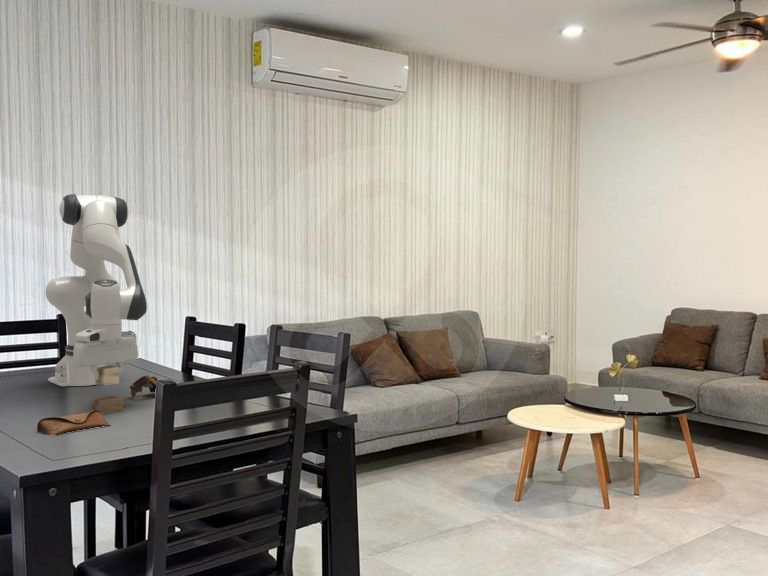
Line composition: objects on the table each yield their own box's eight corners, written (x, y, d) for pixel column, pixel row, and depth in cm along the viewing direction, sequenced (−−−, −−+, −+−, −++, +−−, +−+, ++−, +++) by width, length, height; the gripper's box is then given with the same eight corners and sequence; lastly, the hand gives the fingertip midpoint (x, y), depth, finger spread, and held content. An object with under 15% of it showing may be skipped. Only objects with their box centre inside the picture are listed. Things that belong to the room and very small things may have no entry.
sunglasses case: (50, 436, 202) (44, 413, 204) (40, 446, 206) (34, 422, 208) (114, 425, 215) (107, 403, 217) (103, 434, 219) (97, 412, 221)
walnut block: (91, 411, 234) (90, 398, 234) (113, 407, 239) (113, 395, 239) (100, 414, 229) (100, 401, 229) (123, 411, 234) (123, 398, 233)
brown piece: (159, 401, 250) (146, 381, 248) (135, 413, 252) (122, 392, 249) (170, 385, 261) (158, 365, 259) (147, 396, 263) (134, 377, 261)
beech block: (95, 383, 233) (95, 367, 232) (109, 381, 237) (109, 365, 236) (104, 385, 230) (104, 369, 229) (119, 383, 234) (118, 367, 233)
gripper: (130, 329, 242) (130, 372, 243) (69, 335, 226) (70, 381, 227) (141, 331, 239) (142, 374, 239) (81, 337, 222) (82, 384, 223)
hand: (107, 378), depth 233 cm, fingers closed on beech block, 5 cm apart
